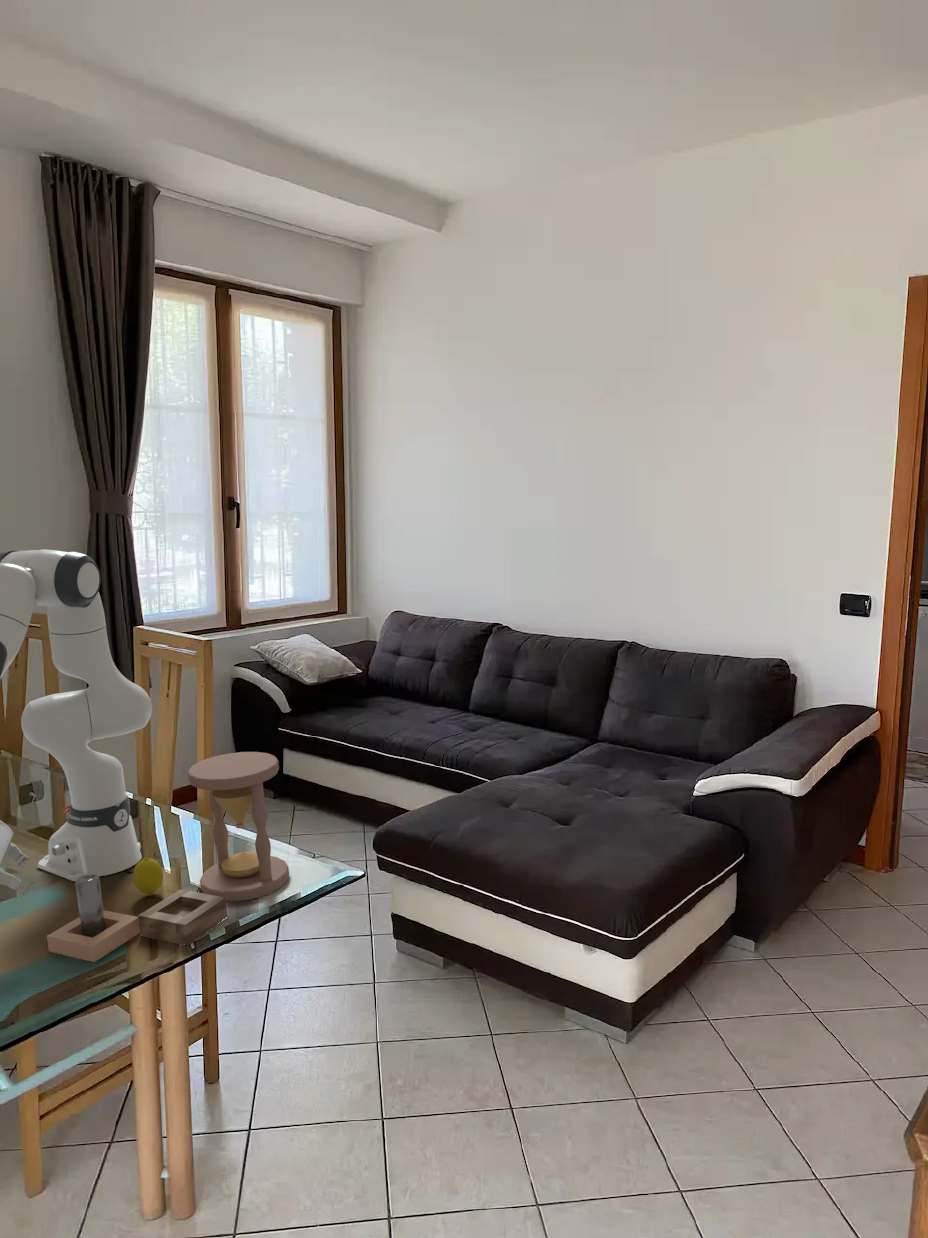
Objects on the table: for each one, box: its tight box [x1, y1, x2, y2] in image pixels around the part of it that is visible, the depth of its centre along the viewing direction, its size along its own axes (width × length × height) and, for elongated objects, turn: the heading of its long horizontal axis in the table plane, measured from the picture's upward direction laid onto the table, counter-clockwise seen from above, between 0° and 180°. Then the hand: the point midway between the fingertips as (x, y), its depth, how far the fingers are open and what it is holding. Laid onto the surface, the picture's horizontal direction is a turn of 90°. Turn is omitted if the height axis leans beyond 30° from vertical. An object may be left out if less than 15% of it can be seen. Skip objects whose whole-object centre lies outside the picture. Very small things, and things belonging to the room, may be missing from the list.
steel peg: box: [74, 875, 106, 938], centre depth 167 cm, size 4×4×12 cm
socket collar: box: [46, 909, 140, 963], centre depth 168 cm, size 11×11×3 cm
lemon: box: [133, 856, 164, 896], centre depth 185 cm, size 6×6×8 cm
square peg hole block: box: [137, 889, 229, 946], centre depth 172 cm, size 11×11×4 cm
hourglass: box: [187, 751, 290, 903], centre depth 187 cm, size 18×18×25 cm
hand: (23, 873), depth 163 cm, fingers open, 8 cm apart
